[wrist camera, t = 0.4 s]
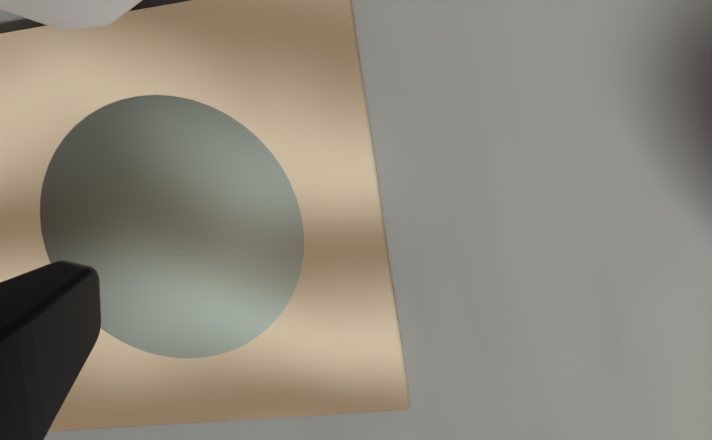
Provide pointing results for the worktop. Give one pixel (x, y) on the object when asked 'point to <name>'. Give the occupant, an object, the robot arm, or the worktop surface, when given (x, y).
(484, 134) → the worktop surface
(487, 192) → the worktop surface
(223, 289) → the board
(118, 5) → the salt shaker
